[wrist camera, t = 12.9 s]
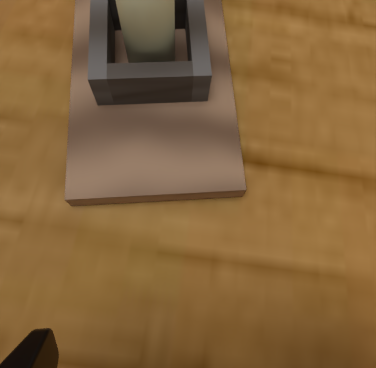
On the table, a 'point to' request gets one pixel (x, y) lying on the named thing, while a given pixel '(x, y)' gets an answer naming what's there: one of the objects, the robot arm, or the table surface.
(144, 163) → the keeper
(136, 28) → the pale green peg
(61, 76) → the table surface
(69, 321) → the table surface
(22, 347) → the robot arm
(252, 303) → the table surface
